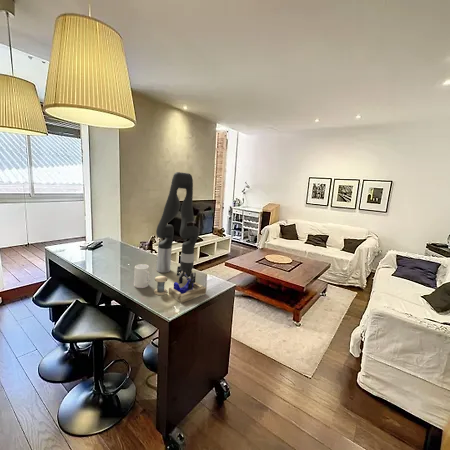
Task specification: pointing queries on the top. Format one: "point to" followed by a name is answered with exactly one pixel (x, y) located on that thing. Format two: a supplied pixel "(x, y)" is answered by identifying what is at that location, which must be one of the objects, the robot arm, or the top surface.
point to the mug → (141, 276)
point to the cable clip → (182, 289)
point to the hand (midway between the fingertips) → (185, 286)
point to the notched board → (188, 293)
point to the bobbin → (160, 285)
